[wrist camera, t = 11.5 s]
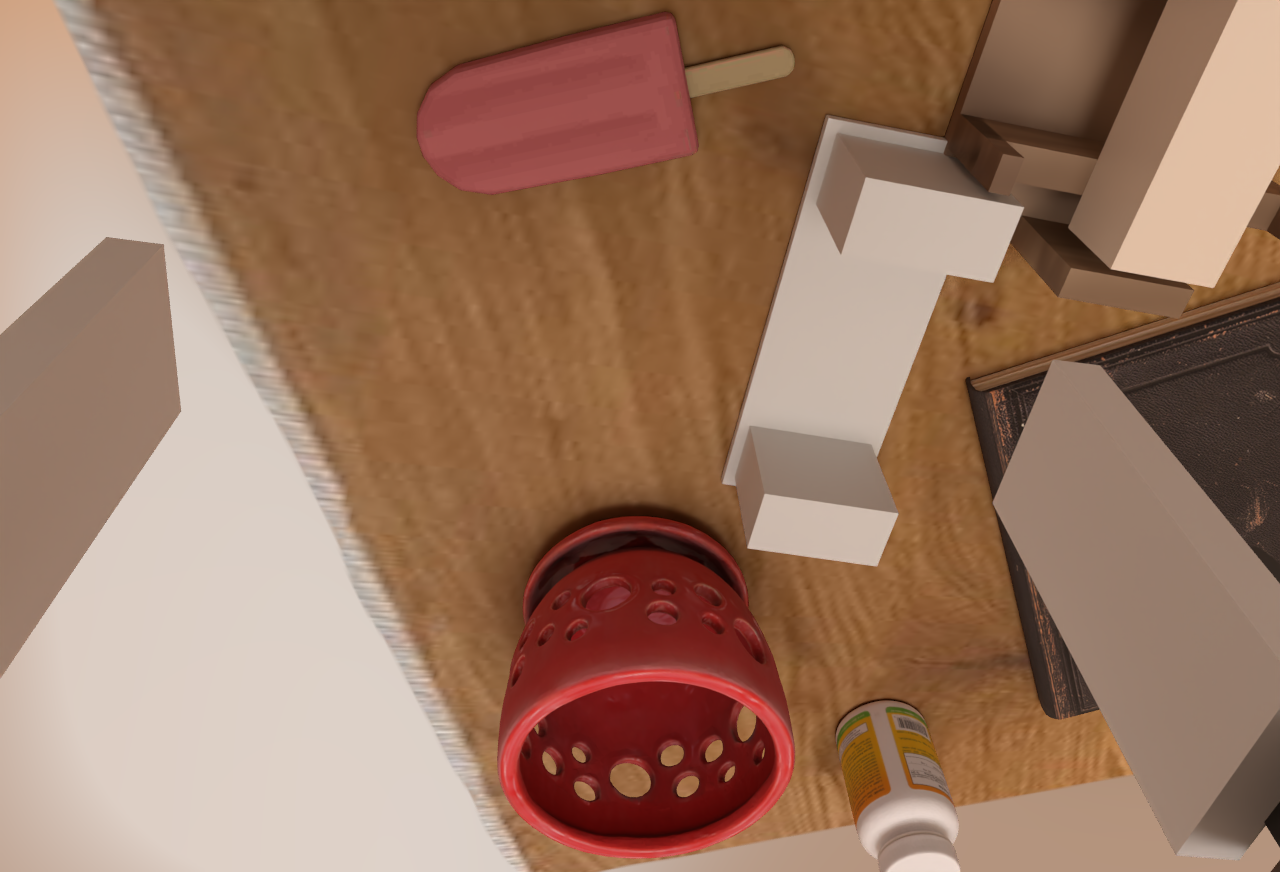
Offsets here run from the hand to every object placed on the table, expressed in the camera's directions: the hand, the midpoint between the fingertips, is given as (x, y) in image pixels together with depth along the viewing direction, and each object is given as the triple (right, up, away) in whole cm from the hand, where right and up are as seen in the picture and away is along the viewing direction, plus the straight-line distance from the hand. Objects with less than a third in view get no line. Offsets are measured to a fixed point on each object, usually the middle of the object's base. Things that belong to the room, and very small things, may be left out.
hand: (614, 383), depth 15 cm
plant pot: (0, -9, +39) cm, 40 cm away
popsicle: (-1, +13, +26) cm, 29 cm away
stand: (+10, +4, +31) cm, 32 cm away
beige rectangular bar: (+20, +14, +20) cm, 32 cm away
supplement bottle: (+15, -18, +45) cm, 51 cm away
